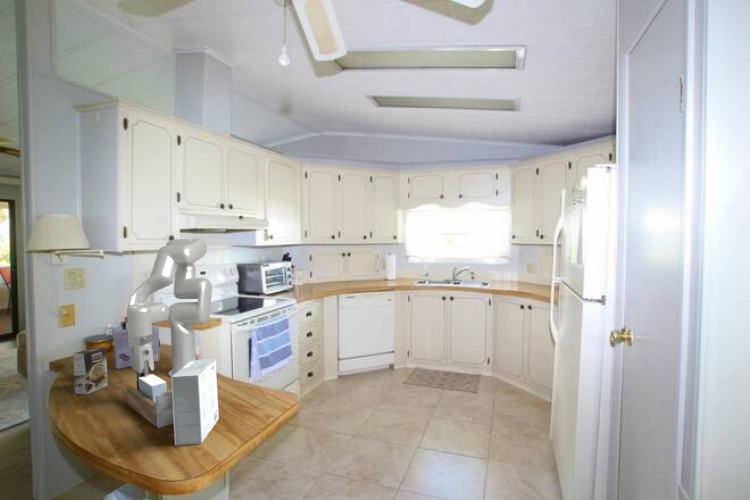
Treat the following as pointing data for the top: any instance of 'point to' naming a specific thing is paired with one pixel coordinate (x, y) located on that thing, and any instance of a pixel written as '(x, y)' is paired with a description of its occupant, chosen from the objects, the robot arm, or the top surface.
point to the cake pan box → (125, 350)
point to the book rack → (152, 407)
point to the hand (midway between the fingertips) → (142, 389)
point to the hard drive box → (194, 401)
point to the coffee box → (90, 370)
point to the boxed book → (152, 386)
